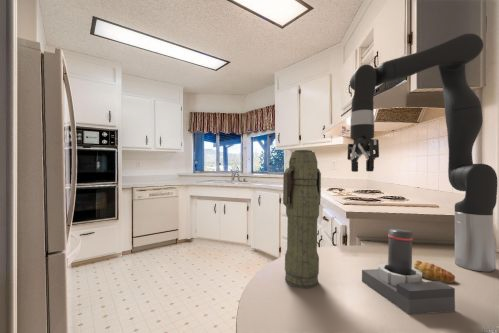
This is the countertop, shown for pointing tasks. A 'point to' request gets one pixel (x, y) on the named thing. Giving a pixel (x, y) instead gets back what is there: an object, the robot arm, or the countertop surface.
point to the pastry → (434, 272)
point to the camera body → (411, 291)
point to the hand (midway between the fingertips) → (361, 171)
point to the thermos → (302, 218)
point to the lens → (400, 251)
